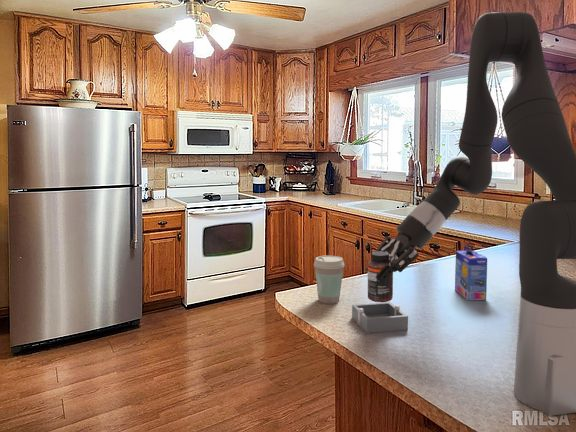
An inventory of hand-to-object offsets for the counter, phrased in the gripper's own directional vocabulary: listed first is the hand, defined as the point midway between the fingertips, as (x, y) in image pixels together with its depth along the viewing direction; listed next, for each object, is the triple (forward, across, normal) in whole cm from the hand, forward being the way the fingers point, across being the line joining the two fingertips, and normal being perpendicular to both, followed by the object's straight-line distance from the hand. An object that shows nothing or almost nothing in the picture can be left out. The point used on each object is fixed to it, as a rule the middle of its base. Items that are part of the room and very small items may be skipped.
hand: (373, 276), depth 106 cm
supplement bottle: (+3, 0, +6) cm, 6 cm away
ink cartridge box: (-16, -15, +34) cm, 40 cm away
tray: (+7, 0, +10) cm, 12 cm away
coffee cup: (+12, -19, +5) cm, 23 cm away
